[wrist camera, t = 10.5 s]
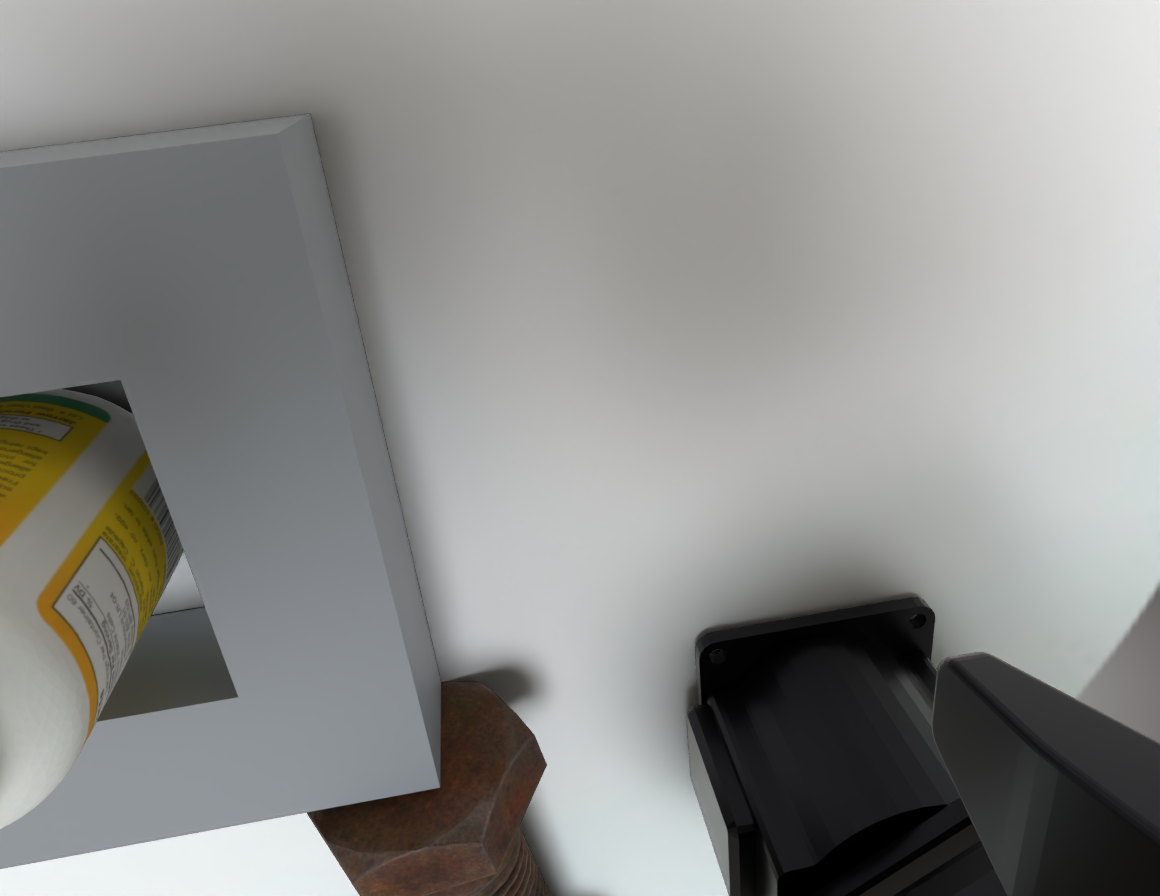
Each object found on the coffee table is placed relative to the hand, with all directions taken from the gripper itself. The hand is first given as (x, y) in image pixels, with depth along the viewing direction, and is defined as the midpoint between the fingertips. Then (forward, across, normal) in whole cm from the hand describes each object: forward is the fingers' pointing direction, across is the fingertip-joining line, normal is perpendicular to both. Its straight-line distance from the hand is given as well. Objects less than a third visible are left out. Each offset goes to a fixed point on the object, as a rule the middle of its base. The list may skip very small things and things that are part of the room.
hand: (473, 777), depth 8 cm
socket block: (+12, +9, +2) cm, 15 cm away
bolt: (+12, +2, +17) cm, 21 cm away
